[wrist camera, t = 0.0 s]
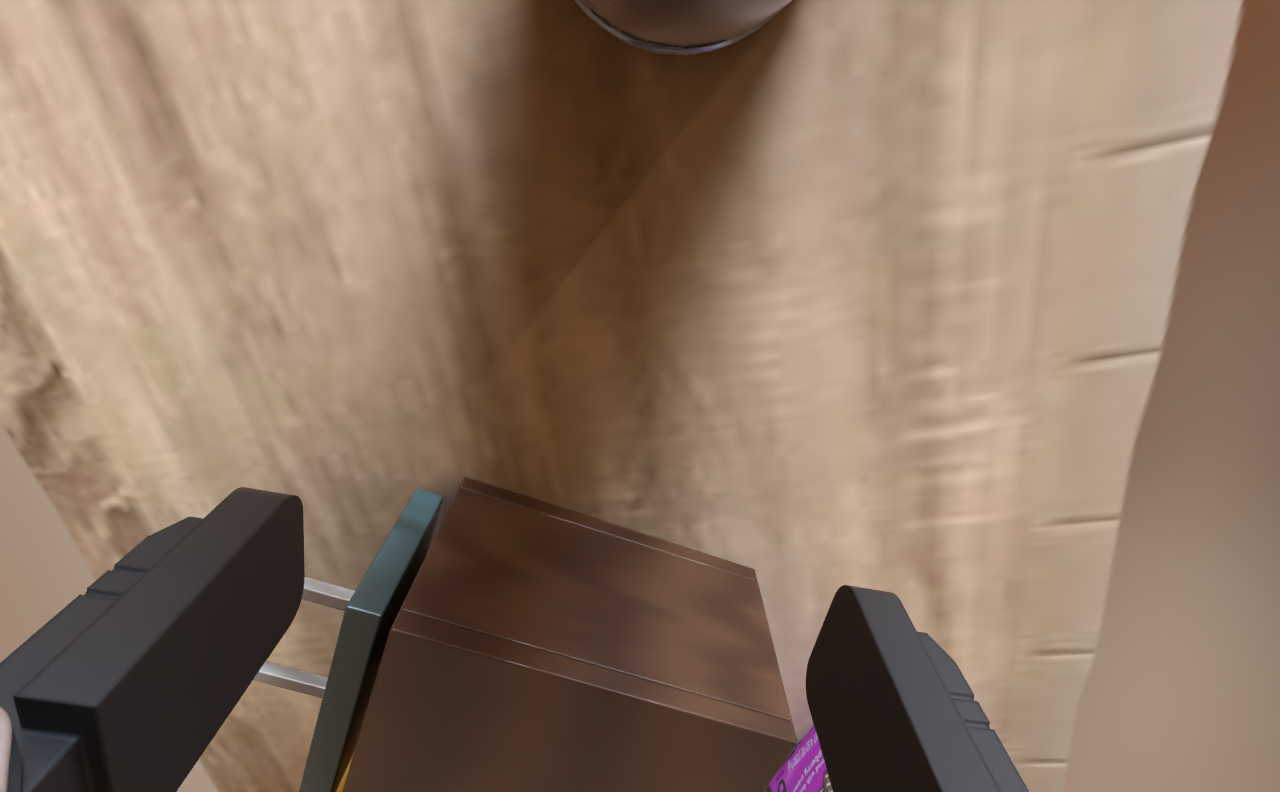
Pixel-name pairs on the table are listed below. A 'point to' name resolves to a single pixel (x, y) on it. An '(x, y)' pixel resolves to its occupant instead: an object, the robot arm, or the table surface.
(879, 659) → the robot arm
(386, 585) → the drawer
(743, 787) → the cabinet
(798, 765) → the candy bar box
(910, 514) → the table surface
